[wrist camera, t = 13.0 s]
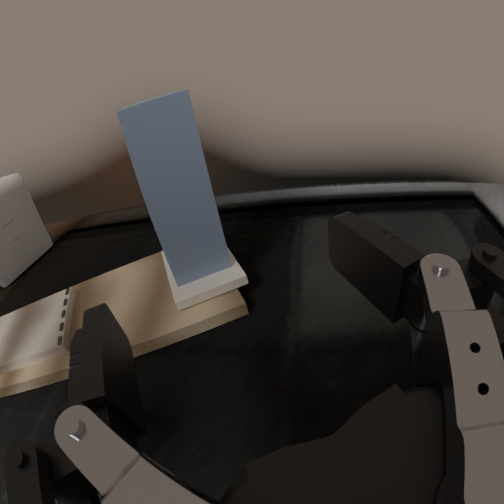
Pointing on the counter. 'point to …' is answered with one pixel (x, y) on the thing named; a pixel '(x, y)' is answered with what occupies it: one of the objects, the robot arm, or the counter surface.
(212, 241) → the panel
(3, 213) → the photo printer
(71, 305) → the perforated strip board
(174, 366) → the counter surface
